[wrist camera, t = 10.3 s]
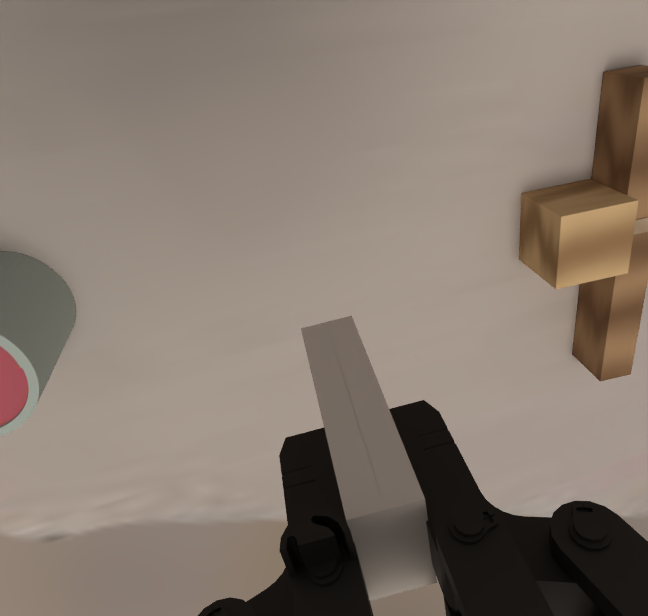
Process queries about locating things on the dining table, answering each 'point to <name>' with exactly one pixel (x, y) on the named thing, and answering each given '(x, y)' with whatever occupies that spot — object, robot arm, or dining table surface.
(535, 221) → the block
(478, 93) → the dining table surface
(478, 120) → the dining table surface
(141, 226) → the dining table surface
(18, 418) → the mug
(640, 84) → the board
